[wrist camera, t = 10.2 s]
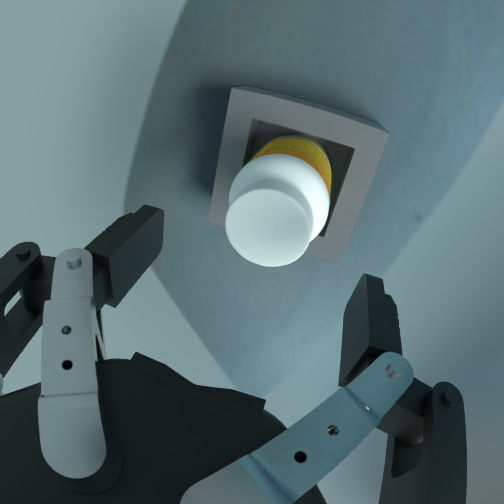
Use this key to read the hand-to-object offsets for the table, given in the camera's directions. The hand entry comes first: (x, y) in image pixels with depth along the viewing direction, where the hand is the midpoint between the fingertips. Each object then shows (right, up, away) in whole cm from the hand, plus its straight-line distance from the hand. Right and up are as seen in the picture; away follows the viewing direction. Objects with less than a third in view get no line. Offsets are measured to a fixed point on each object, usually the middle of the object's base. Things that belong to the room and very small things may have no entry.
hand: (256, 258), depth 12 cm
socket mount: (+3, +7, +11) cm, 13 cm away
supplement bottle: (+3, +6, +10) cm, 12 cm away
